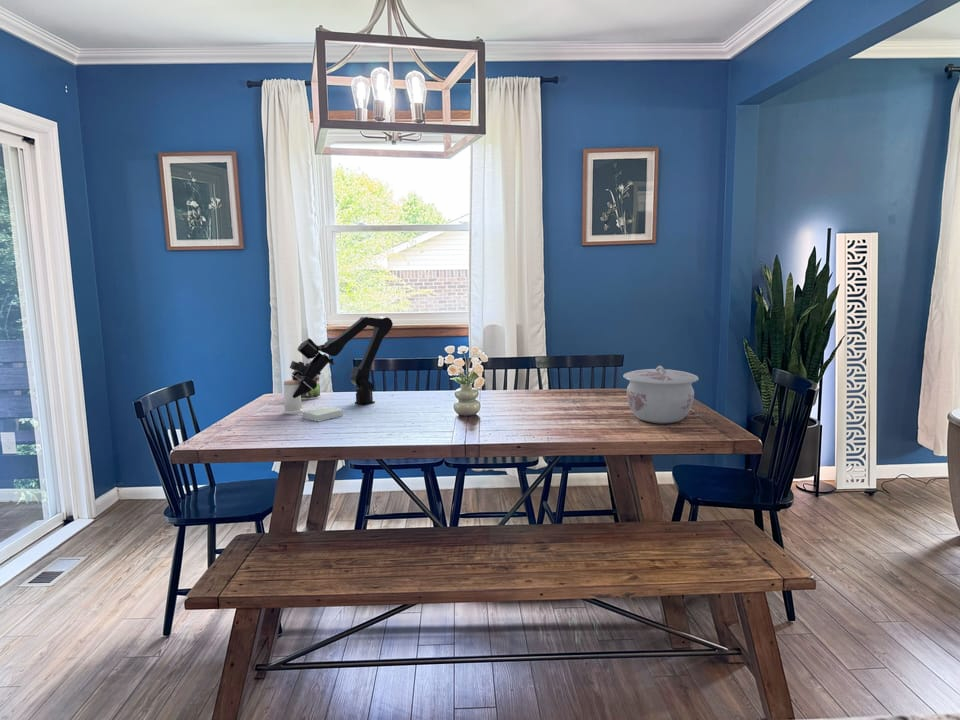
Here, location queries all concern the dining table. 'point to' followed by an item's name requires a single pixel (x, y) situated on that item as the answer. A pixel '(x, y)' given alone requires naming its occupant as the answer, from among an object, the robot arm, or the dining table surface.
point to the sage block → (322, 413)
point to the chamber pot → (660, 394)
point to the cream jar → (292, 403)
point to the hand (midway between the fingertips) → (290, 395)
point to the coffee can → (314, 393)
